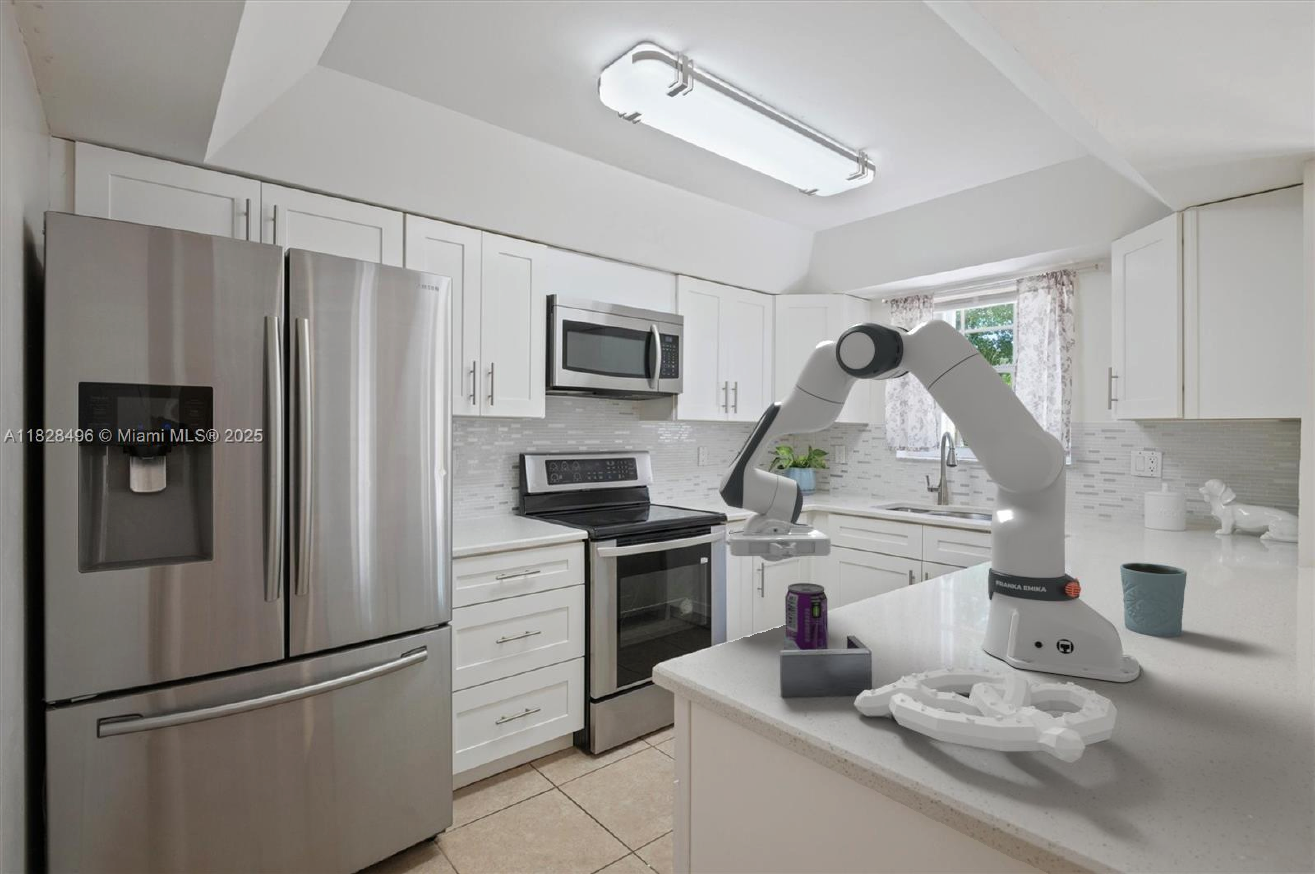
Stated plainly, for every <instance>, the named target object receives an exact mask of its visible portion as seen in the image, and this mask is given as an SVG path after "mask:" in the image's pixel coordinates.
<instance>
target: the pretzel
mask: <svg viewBox="0 0 1315 874" xmlns="http://www.w3.org/2000/svg"><path fill="white" fill-rule="evenodd" d="M965 667H966V668H958V669H957V668H954V667H951V666H950V667H947V668H946V669H944V668H943V669H936V670H932V671H931V669H925V671H924V672H921V673H916V672H915V673H914V672H913V673H911V674H910V675H906V676H904V675H902V676H900V679H898V680H897V681H896V682H893V683H889V684H885V685H884V684H883V686H882V687H878V688H875V689H873V688H872V689H871V690H864V691H863V692H862V693H861V694H860V695H858V696H856V698H855V699H854V702H853V705H854V706H855V708H856V709H857V711H859V713H861V714H862V715H864V716H865V717H888V716H890V715H892V716H893V718H894V720H896V723H897V724H898V725H900V726H902V727H904V728H908V729H910V730H912V731H915V732H917V733H921V734H922V735H925V736H928V737H929V738H932V739H936V740H938V741H941V742H944V743H949V744H954V745H961V746H965V747H966V746H967V747H974V748H980V749H986V750H992V751H998V752H1046V753H1048V754H1050V755H1052V756H1054V757H1055V758H1057V759H1059V760H1061V761H1063V762H1066V763H1070V764H1074V763H1075V762H1076V761H1078V760H1079V759H1081V758H1082V757H1083V752H1084V751H1085V749H1086V746H1089V745H1092V744H1095V743H1096V744H1097V743H1099V742H1103V741H1105V740H1106V741H1107V740H1109V739H1110V738H1111V737H1112V734H1113V732H1114V731H1113V730H1114V727H1115V721H1116V718H1117V717H1116V716H1117V714H1118V713H1117V712H1118V710H1117V708H1116V707H1115V705H1114V704H1113V702H1112V701H1111V699H1109V698H1106V697H1105V696H1103V695H1100V694H1098V693H1096V691H1095V690H1090V689H1087V688H1085V687H1082V686H1080V685H1078V684H1075V683H1074V682H1071V681H1067V682H1066V684H1064V683H1062V682H1059V681H1057V682H1056V683H1052V682H1051V683H1050V682H1047V683H1041V684H1040V683H1036V682H1033V684H1032V685H1030V683H1029V682H1028V680H1027V679H1026V678H1025V677H1023V676H1020V675H1018V674H1015V673H1014V674H1013V673H1005V672H1002V671H996V672H995V671H990V668H983V670H982V669H976V668H973V666H965ZM963 695H969V696H968V697H969V698H968V697H965V696H963ZM1050 711H1051V712H1052V711H1054V712H1061V713H1062V712H1063V713H1062V716H1057V717H1053V715H1051V713H1049V712H1050Z"/></svg>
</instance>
